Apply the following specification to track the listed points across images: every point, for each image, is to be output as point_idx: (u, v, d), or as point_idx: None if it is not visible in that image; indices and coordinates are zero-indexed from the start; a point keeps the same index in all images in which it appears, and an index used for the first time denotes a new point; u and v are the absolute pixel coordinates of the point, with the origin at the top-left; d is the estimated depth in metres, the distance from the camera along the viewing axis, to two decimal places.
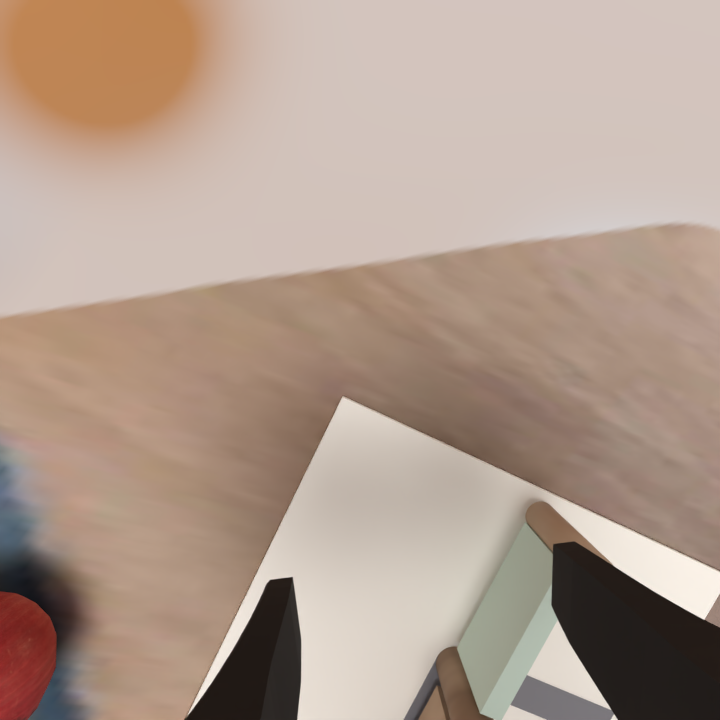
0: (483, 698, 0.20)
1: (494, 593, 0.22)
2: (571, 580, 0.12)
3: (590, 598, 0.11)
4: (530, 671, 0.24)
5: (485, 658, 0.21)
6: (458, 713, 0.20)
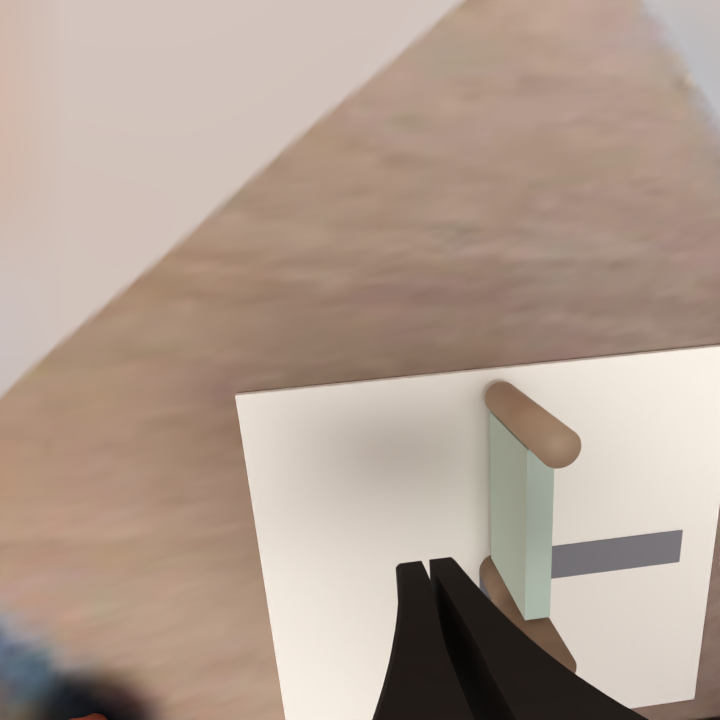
0: (522, 604, 0.18)
1: (495, 495, 0.20)
2: (439, 597, 0.12)
3: (449, 617, 0.11)
4: (577, 538, 0.22)
5: (511, 563, 0.19)
6: None
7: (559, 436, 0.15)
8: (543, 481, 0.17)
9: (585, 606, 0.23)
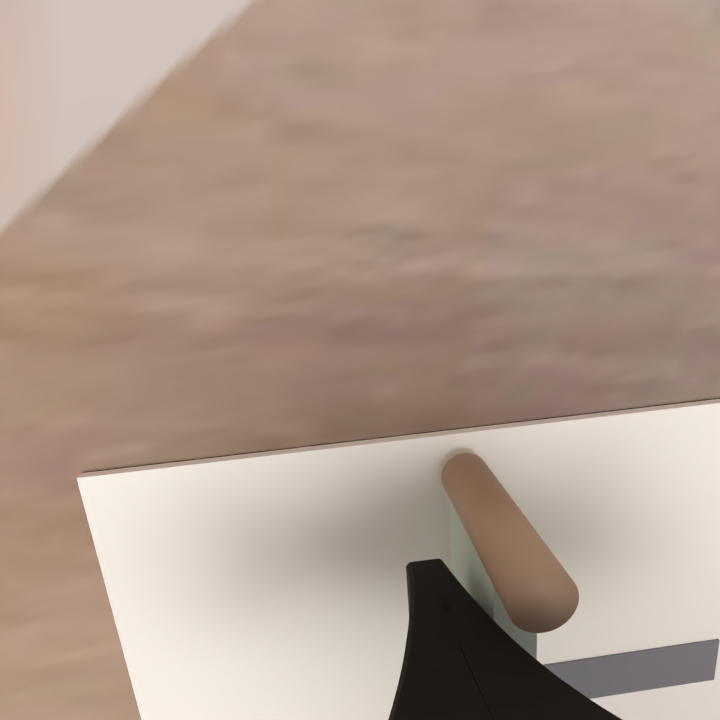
0: None
1: None
2: None
3: None
4: (576, 654, 0.16)
5: None
6: None
7: (542, 584, 0.09)
8: (520, 628, 0.11)
9: None
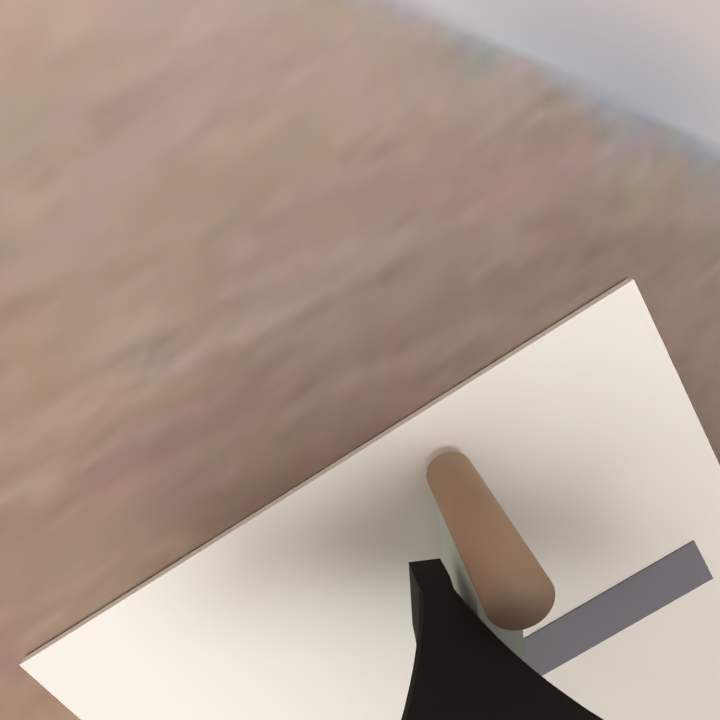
0: None
1: None
2: (417, 600, 0.12)
3: None
4: (552, 614, 0.16)
5: None
6: None
7: (516, 582, 0.09)
8: None
9: (615, 680, 0.17)
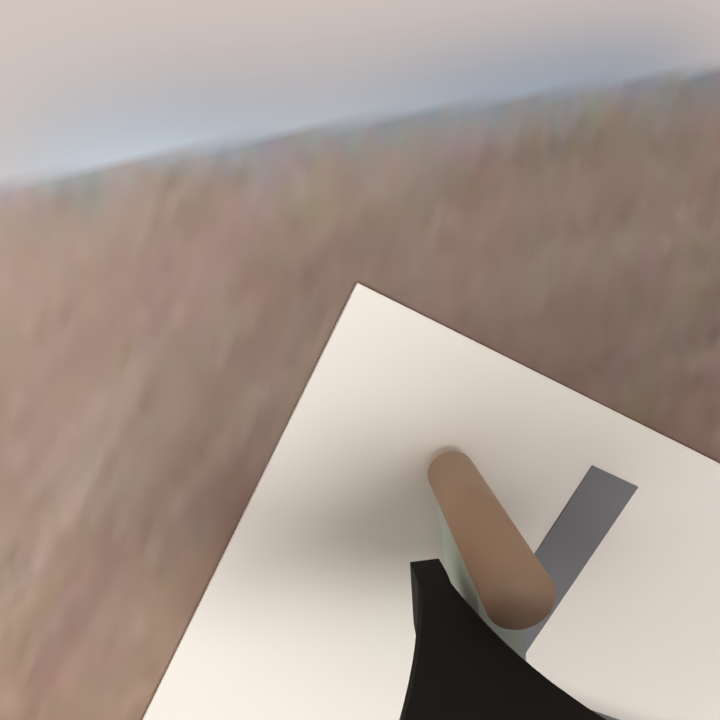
0: None
1: None
2: (418, 600, 0.12)
3: None
4: None
5: None
6: None
7: (517, 581, 0.09)
8: None
9: (606, 619, 0.16)
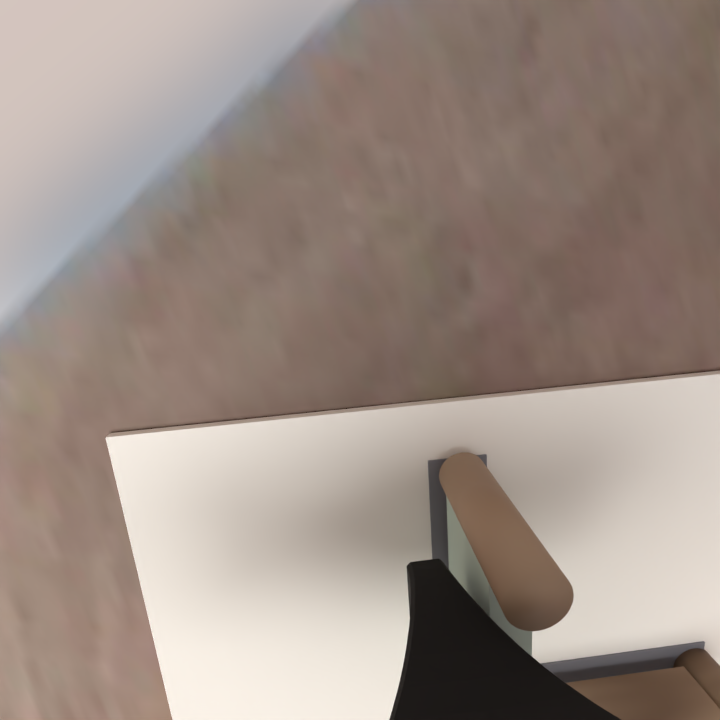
0: None
1: None
2: None
3: None
4: None
5: None
6: None
7: (536, 582, 0.09)
8: (516, 627, 0.11)
9: None
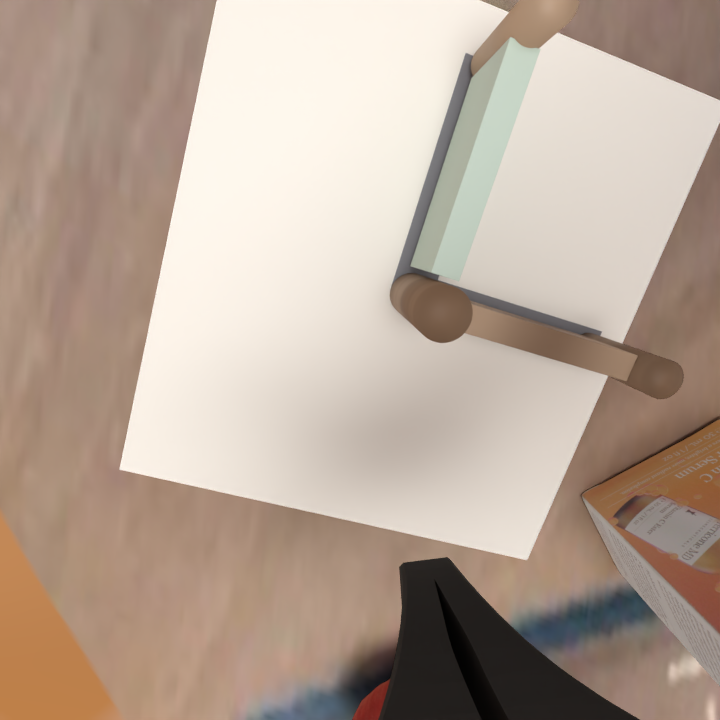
0: (434, 257, 0.16)
1: (443, 173, 0.18)
2: None
3: (444, 618, 0.11)
4: (414, 192, 0.19)
5: (436, 228, 0.16)
6: None
7: None
8: (513, 90, 0.14)
9: (510, 209, 0.19)
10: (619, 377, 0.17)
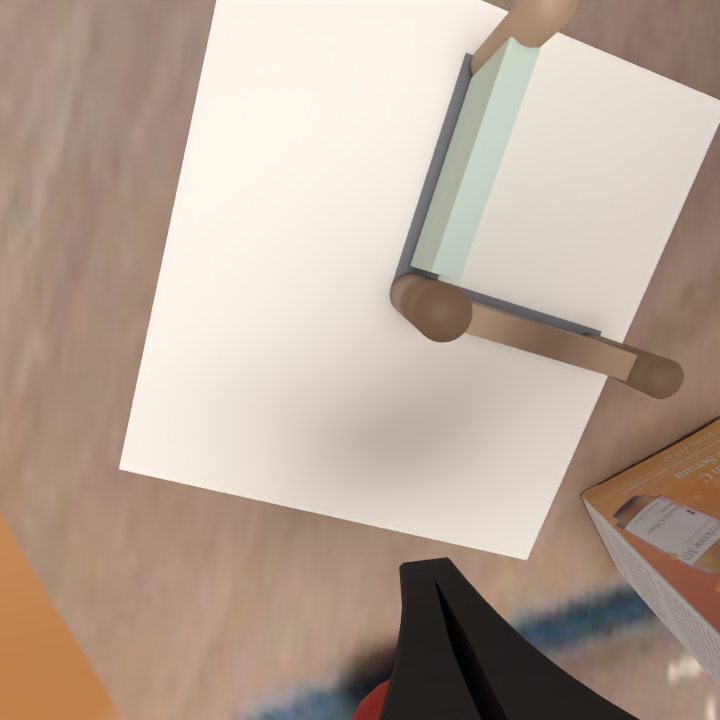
0: (434, 257, 0.16)
1: (443, 173, 0.18)
2: None
3: (444, 618, 0.11)
4: (414, 191, 0.19)
5: (436, 227, 0.16)
6: None
7: None
8: (513, 90, 0.14)
9: (510, 208, 0.19)
10: (619, 377, 0.17)
